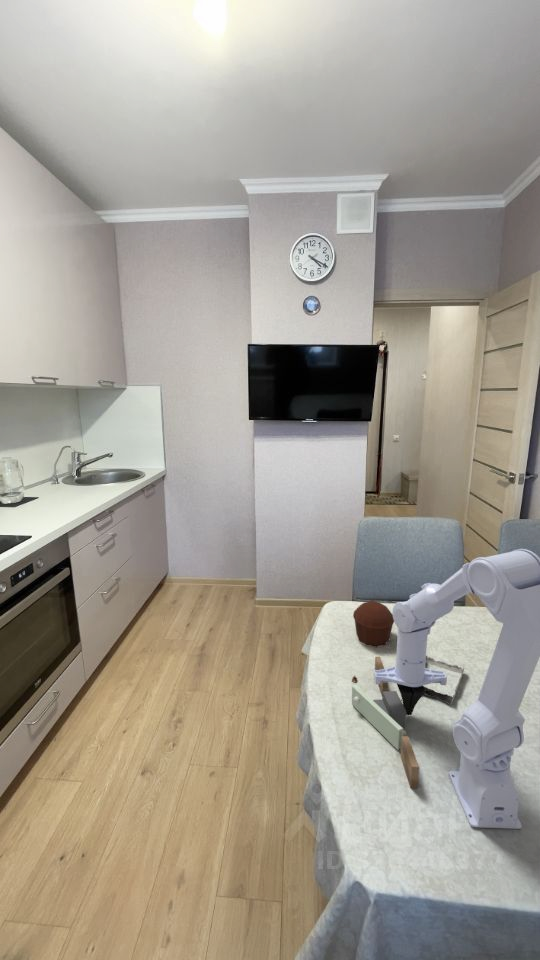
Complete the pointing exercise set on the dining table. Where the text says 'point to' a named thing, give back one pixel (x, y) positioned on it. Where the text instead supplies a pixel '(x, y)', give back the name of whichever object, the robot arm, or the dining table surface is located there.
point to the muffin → (373, 623)
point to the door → (377, 717)
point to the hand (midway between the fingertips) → (407, 711)
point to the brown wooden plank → (403, 741)
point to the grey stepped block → (393, 707)
